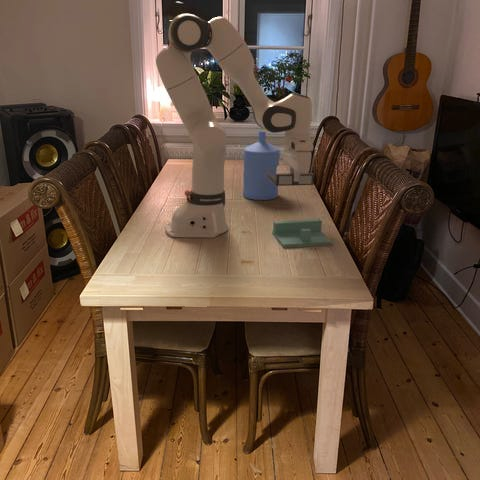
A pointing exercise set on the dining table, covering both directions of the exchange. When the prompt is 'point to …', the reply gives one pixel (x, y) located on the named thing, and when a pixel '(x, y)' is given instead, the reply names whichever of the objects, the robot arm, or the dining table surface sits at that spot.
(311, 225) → the display stand
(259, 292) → the dining table surface
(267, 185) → the water jug
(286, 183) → the glasses frame
